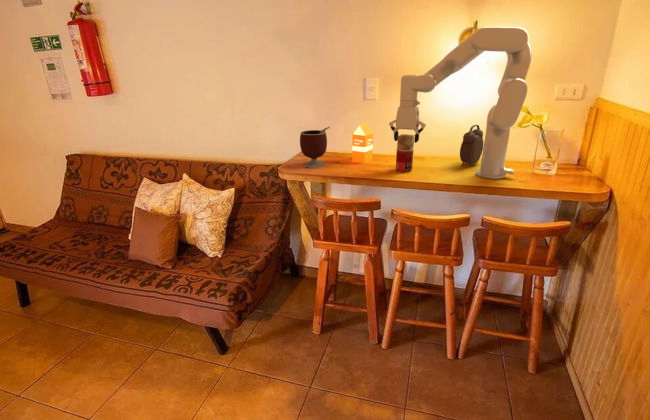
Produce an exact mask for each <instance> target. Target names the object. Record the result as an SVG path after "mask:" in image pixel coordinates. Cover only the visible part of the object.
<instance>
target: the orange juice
mask: <svg viewBox="0 0 650 420" xmlns="http://www.w3.org/2000/svg"><path fill="white" fill-rule="evenodd" d="M373 141H374V132H373V130H372V129H371V126H370V125H369V124H368V122H367V121H366V122H363V123H359V124H358V126H357V128H356V129H355V130H354V132H353V133H352V144H351V145H352V147H351V148H352V149H351V150H352V151H351V152H352V153H351V154H352V157H351V158H352V160H351V162H354V163H360V164H366V163H368V162H370V161H372V160H373V147H374V145H373Z"/></svg>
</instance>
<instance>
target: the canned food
mask: <svg viewBox="0 0 650 420" xmlns="http://www.w3.org/2000/svg"><path fill="white" fill-rule="evenodd" d="M395 157H396V158H395V171H397V172H399V173H411V172H412V170H413V162H414V147H413V148H412V149H410V150H403V149H397V148H396V156H395Z"/></svg>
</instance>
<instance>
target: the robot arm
mask: <svg viewBox="0 0 650 420" xmlns="http://www.w3.org/2000/svg"><path fill="white" fill-rule="evenodd" d="M529 39H530V38H529V32H528V31H527V30H526V29H525V28H522V27H519V26H518V27H517V26H515V27H513V26H512V27H511V26H507V27H506V26H505V27H504V26H503V27H501V26H483V27H480V28H478V29H477V30H476V31H474V32H473V33H472V34H470V35H469V36H468V37H467V38H466V39H464V40H463V41H462V42H461V43H460V44H458V45H457V46H456V47H455V48H453V49H452V50H451V51H450V52H448V53H447V55H445V56H444V57H443V58H442V60H440V61H439V62H438V63H437V64H436V65H434V66H433V67H432V68H430V69H429V70H428V71H426V72H425V73H424V74H422V75H416V74H405V75H402V76H401V78H400V91H399V93H400V94H399V95H400V96H399V106H398V108H397V111H396V119H394V120H392V121H390V122H389V123H388V124H389V127H390V129H391V131H392V133H393V139H394V142H397V141H398V136H399V130H407V131H409V130H410V131H412V130H413V131H414V143H417V142H418V141H420V134H421V132H423V131H424V129H425V127H426V126H427V124H426V123H425V122H423V121H422V120H420V111H419V110H420V109H419V108H420V107H419V106H420V105H421V102H420V101H418V93H424V94H425V93H430V92H432V91H433V90H434V89H435V88H436V87H437V86H438V85H439V84H440V83H441V82H443V81H444V80H445V79H447V78H448V77H450V76H452V75H453V74H455V73H457V72H459V71H460V70H462V69H463V68H465V66H467V65H469V64H470V63H471V62H472V61H473V60H475V59H476V58H477V57H479V56H481V54H483V53H484V52H499V53H500V52H501V53H503V52H505V53H506V55H507V62H506V65H505V69H504V71H503V75H502V78H501V80H500V83H499V86H498V88H497V95H498V99H497V101H496V104H495V105H493V106H492V107H491V108H490V109H489V110H488V113H487V117H486V128H485V136H484V140H483V151H482V154H481V163H480V169H477V170H476V172H475V175H476V176H478V177H480V178H483V179H484V178H485V179H489V180H490V179H492V180H493V179H494V180H499V179H500V180H501V179H504V178H506V176H507V174H508V175H514V173H515V169H512V168H507V167H506V165H505V162H506V155H507V151H508V150H507V149H508V144H509V139H510V134H511V133H510V132H511V128H512V127H513V126H514V125H516V122H517V120H518V119H519V117H520V113H521V111H522V108H523V105H524V102H525V101H526V98H527V95H528V84H527V82H526V78H527V75H528V72H529V69H530V65H531V62H532V54H533V53H532V48H531V46H530V45H531V44H530V43H529ZM394 124H395V126H394ZM420 126H421V127H420ZM419 127H420V128H419Z"/></svg>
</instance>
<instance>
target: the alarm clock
mask: <svg viewBox="0 0 650 420" xmlns="http://www.w3.org/2000/svg"><path fill="white" fill-rule="evenodd" d="M475 127H476V129H474V128H475ZM483 136H484V132H483V130H482V129H481V128H480V125H479V124H473V125H471V126H470V128H469V131H466V133H464V134H463V136H462V142H461V145H460V149H459V157H460V158H459V159H460V161H461V162H462V163H461V167H463V166H464V163H465V164H469V167H471V166H472V165H475V164H478V163H479V161H480V158H482V154H483V148H484V138H483Z"/></svg>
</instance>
